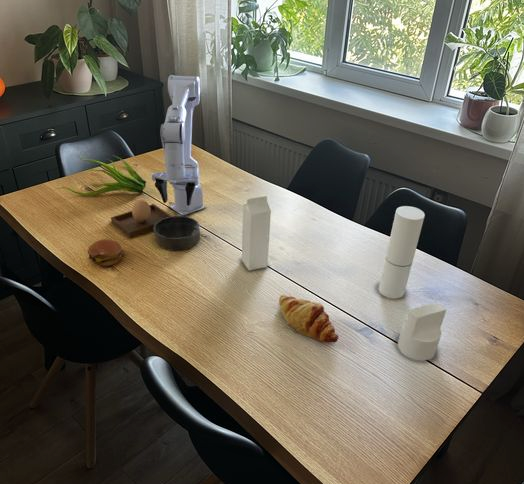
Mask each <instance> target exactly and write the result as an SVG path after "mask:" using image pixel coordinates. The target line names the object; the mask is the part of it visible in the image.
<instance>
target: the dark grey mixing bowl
mask: <svg viewBox="0 0 524 484" xmlns="http://www.w3.org/2000/svg"><path fill="white" fill-rule="evenodd" d="M170 216H171V217H166V218H163V219H161V220H159V221H157V222H156V224H155V225H154V228H153V230H152V231H153V240H154V242H155V244H156V245H157V246H158V247H160V248H161V249H164V250H169V251H182V250H187V249H190V248H193V247H194V246H196V245H197V244H198V243H199V242H200V240H201V229H200V227H201V226H200V225H201V224H200V223H199V222H198V221H197V220H196V219H195V218H192V217H189V216H186V215H170Z"/></svg>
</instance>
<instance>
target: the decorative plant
mask: <svg viewBox="0 0 524 484" xmlns="http://www.w3.org/2000/svg"><path fill="white" fill-rule="evenodd" d="M77 157H78V158H79V159H80V160H82V161H85V162H92V163H94V164H99V165H100V166H102V168H104V169H94V168H87V170H88V171H89V170H90V171H94V172H101V173H102V172H103V173H104V174H106V175H108V176H109V177H111V178H112V179H113V180H114V181H116V182H102V183H100V184H96V183H94V182H93V181H90V183H91V184H93V185H95V186H99V187H101V186H104V187H102V188H99V189H97V190H91V191H88V192H80V191H76V190H74V189H72V188H70V187H64V186H62V187H57V188H53V191H55V190H59V189H66V190H69V191H71V192H72V193H74V194H77V195H81V196H98V195H102V194H106V193H110V192H116V191H127V192H129V193H137V194H140V195H142V194H143V192H144V189H145V188H146V185H147V181H146V180H145V179H143V178H142V177H141V176H140V175H139V174H138V172H137V171H136V170H134V169H133V168H132V167H131V166H130V165H129V163H127V162H126V161H125V160H124V159H122V158H121V157H120V156H119V157H118V156H116V155H114V157H115V158H117V159H118V160H120V161H121V162H123V165H124V166H125V167H124V166H121V165H119V167H120V168H123V169H124V170H126V171H127V172H128V174H129V175H127V174H124V173H123V172H121V171H120V170H119V169H117V167H116V165H115V163H114V162H113V161H112V160H110V159H109V158H105V159H106V160H108V161H110V162H111V163H112V164H113V165H110V164H108V163H105V162H101V161H100V160H99V161H98V160H95V159H89V158H87V157H85V159H83V158H82V157H80V156H78V155H77ZM81 169H84V170H85V168H84V167H82V168H81ZM105 169H106V170H105Z"/></svg>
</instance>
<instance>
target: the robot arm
mask: <svg viewBox="0 0 524 484" xmlns="http://www.w3.org/2000/svg"><path fill="white" fill-rule="evenodd" d="M167 93H168V95H169V98H170V100H171V105H170V106H168V108H167V111H166V115H165V120H164V122H163V123H161V125H160V139H161V144H162V149H163V153H164V167H165V171H164V172H157V171H154V172H152V173H151V180H152V181H153V182H154V187H155V188H156V190H157V191H158V192H159V194H160V196H161V199H162V202H163V204H166V203H167V202H168V200H169V199H168V184H170V185H171V186H172V188H173V196H174V204H172V205H170V206H169V208H171V209H172V210H173V211H175V212H176V213H178V214H179V215H180V216H187V215H189V214H191V213H194V212H197V211H200V210H203V209H205V206H204V195H203V193H204V192H203V186H202V185H201V183H200V164H199V163H198V161H197V160H195V158H193V157H192V134H193V113H194V109H195V107H196V106H198V105H200V101H201V100H200V99H201V78H200V77H199V76H198V75H197V76H187V75H173V74H170V75H169V76H168V77H167Z"/></svg>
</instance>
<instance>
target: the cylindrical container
mask: <svg viewBox="0 0 524 484" xmlns="http://www.w3.org/2000/svg"><path fill="white" fill-rule="evenodd" d="M394 213H395V214H394V218H393V219H394V220H393V222H392V228H391V232H390V236H389V241H388V245H387V248H386V249H387V250H386V253H385V258H384V263H383V267H382V272H381V276H380V280H379V281H380V282H379V284H378V292H379V293H380V294H381V295H382V296H384V297H386V298H388V299H400V298H403V297H404V295H405V292H406V289H407V284H408V281H409V277H410V273H411V269H412V266H413V262H414V259H415V255H416V250H417V248H418V247H417V246H418V243H419V239H420V235H421V231H422V229H423V228H422V227H423V223H424V220H425V217H426V215H425V212H424V211H423V210H421V209H420V208H418V207H415V206H408V205H402V206H399V207H397V208H396V210H395V212H394Z"/></svg>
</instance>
